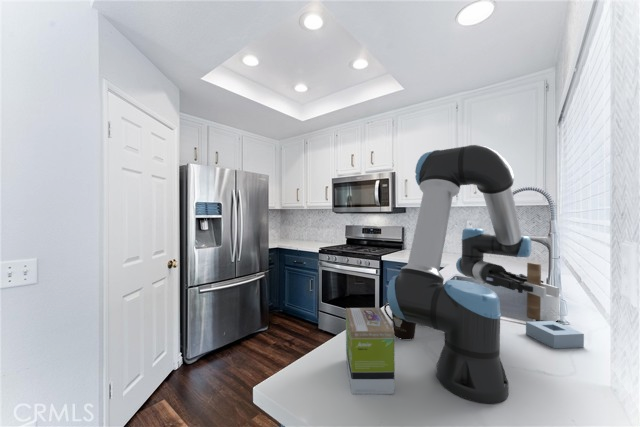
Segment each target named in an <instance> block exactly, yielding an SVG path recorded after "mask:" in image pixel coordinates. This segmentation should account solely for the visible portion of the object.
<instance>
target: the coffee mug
mask: <svg viewBox="0 0 640 427" xmlns="http://www.w3.org/2000/svg"><path fill="white" fill-rule="evenodd" d="M388 306H389V304H388V303H387V304H384V307H383V309H384V313H385V314H386V316H387V317H388V318H389V320H390V321H391V322H392V329H393V330H394V337H395V336H396V337H395V338H397V337H398V338H397V339H399V338H401V339H400V340H403V339H411V340H413V339H414V338H415V333H416V325H417V324H416V323H413V322H408V321H406V320H404V319H401V318H398V317H396V316H395V315H394V314H393V313H392V312H391V316H390V314H389V313H388V311H387V307H388Z"/></svg>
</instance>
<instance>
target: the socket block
mask: <svg viewBox="0 0 640 427" xmlns="http://www.w3.org/2000/svg"><path fill="white" fill-rule="evenodd" d="M525 334H526V335H528V336H530V337H531V338H534V339H535V340H537V341H539V342H541V343H543V344H545V345H547V346H548V347H551V348H552V349H564V348H565V349H567V348H568V349H570V348H584V347H585V346H584V345H585V342H584V341H585V334H584V333H583V332H580V331H578V330H575V329H573V328H571V327H568V326H566V325H564V324H561V323H558V322H555V321H543V320H535V321H525Z"/></svg>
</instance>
